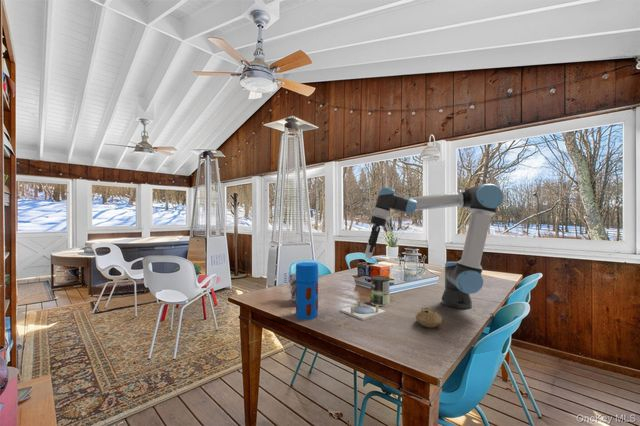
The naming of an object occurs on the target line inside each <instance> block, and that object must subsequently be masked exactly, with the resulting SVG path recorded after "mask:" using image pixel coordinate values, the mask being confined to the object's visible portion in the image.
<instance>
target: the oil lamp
mask: <svg viewBox="0 0 640 426" xmlns="http://www.w3.org/2000/svg"><path fill="white" fill-rule="evenodd" d="M415 320H416V321H417V322H418V323H419V324H420V325H421V326H422V327H426V328H431V329H432V328H436V327H438V325H440V324H441V323H442V322H443V318H442V316H441V315H439V314H438V313H437V312H436V311H435V310H432V309H431V308H430V307H424V306H423V307H421V309H420V311H419V312H418V313H417V314H416V315H415Z"/></svg>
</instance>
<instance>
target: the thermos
mask: <svg viewBox="0 0 640 426" xmlns="http://www.w3.org/2000/svg"><path fill="white" fill-rule="evenodd" d="M295 274H296V300H295V314H296V315H295V317H296V318H297V319H299V318H300V319H299V320H303V319H310V320H314V318H315V319H317V318H318V316H319V264H318V263H316V262H312V261H310V262H309V261H307V262H306V261H305V262H298V263H296V264H295ZM316 317H317V318H316Z"/></svg>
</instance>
